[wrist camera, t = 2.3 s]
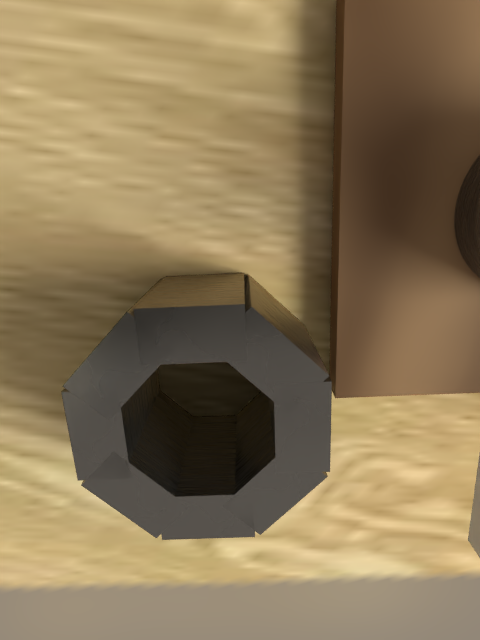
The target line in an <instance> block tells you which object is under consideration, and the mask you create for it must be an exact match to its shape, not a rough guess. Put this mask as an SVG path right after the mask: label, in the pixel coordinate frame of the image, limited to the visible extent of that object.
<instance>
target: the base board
mask: <svg viewBox="0 0 480 640" xmlns="http://www.w3.org/2000/svg"><path fill="white" fill-rule="evenodd" d="M479 155H480V0H337V4H336V57H335V110H334V163H333V216H332V269H331V321H330V374H329V377H330V379H331V381H332V392H333V394H334V396H335V398H348V397H374V396H401V395H427V394H453V393H479V392H480V278H479V277H478V276H477V275H476V274H475V273H473V272H472V270H471V269H470V268H469V267H468V265H467V264H466V262H465V261H464V259H463V257H462V255H461V253H460V250H459V248H458V245H457V241H456V237H455V228H454V214H455V207H456V201H457V198H458V194H459V191H460V188H461V186H462V183H463V181H464V179H465V177H466V175H467V173H468V171H469V169H470V168H471V166H472V165H473V163H474V162H475V161H476V159H477V158H478V156H479Z"/></svg>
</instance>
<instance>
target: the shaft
mask: <svg viewBox="0 0 480 640" xmlns="http://www.w3.org/2000/svg"><path fill="white" fill-rule="evenodd" d="M454 228H455V237H456V241H457V245H458V248H459V250H460V253H461V255H462V257H463V259H464V261H465V262H466V264H467V265H468V267H469V268H470V269H471V270H472V272H473V273H475V274H476V275H477V276H478V277H479V278H480V155H479V156H478V158H477V159H476V161H475V162H474V163H473V165H472V166H471V168H470V169H469V171H468V173H467V175H466V177H465V179H464V181H463V183H462V186H461V188H460V191H459V194H458V198H457V201H456V207H455V214H454Z"/></svg>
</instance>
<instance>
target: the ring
mask: <svg viewBox="0 0 480 640" xmlns="http://www.w3.org/2000/svg"><path fill="white" fill-rule="evenodd" d="M212 362H227V363H229V364H230V365H231V366H232V367H233V368H235V369H236V370H237V371H238V372H239V373H240V374H242V375H243V376H244V377H245V378H246V379H248V380H249V381H250V382H251V383H252V384H254V385H255V386H256V387H257V388H258V389H259V390H261V392H260V393H259V394H258V395H257V396H256V397H255V398H254V399H253V400H252V401H251V402H250V403H249V404H248V405H247V406H246V407H245V408H244V409H243V410H242V411H241V412H240V413H239V414H238V415H233V416H207V417H193V416H191V415H190V414H189V413H188V412H186V411H185V410H184V409H183V408H181V407H180V406H179V405H178V404H176V403H175V402H174V401H172V400H171V399H170V398H169V397H167V396H166V395H165V394H164V393H162V392H161V391H160V387H159V378H158V369H157V368H158V367H159V366H160V365H162V364H187V363H212ZM63 387H64V388H65V389H64V390H63V391H62V392H61V393H62V399H63V404H64V409H65V414H66V420H67V425H68V430H69V436H70V441H71V446H72V452H73V457H74V462H75V468H76V473H77V478H78V480H84V481H83V483H82V484H81V485H82V486H83V487H84V488H86V489H87V490H89V491H90V492H91V493H93V494H94V495H96V496H97V497H99V498H100V499H101V500H103V501H104V502H106V503H107V504H109V505H110V506H111V507H113V508H114V509H116V510H117V511H118V512H120V513H121V514H123V515H124V516H126V517H127V518H128V519H130V520H131V521H133V522H134V523H136V524H137V525H138V526H140V527H141V528H143V529H144V530H146V531H147V532H148V533H150V534H151V535H153V536H154V537H155V538H157V537H158V536H159V535H160V534H162V540H170V539H202V538H233V537H255V531H256V532H257V533H259V534H260V535H261V534H262V533H263V532H264V531H265V530H266V529H268V528H269V527H270V526H271V525H272V524H273V523H275V522H276V521H277V520H278V519H279V518H280V517H281V516H283V515H284V514H285V513H286V512H287V511H288V510H290V509H291V508H292V507H293V506H294V505H295V504H296V503H298V502H299V501H300V500H301V499H302V498H303V497H305V496H306V495H307V494H308V493H309V492H310V491H311V490H313V489H314V488H315V487H316V486H317V485H318V484H320V483H321V482H322V481H323V480H324V479H325V478H326V477H327V473H326V472H330V443H331V394H332V381H331V379H330V377H329V374H328V372H327V370H326V368H325V366H324V364H323V362H322V360H321V358H320V356H319V354H318V352H317V350H316V348H315V346H314V344H313V342H312V340H311V338H310V336H309V334H308V332H307V330H306V328H305V326H304V324H302V323H301V322H300V321H299V320H298V319H297V318H296V317H295V316H294V315H293V314H292V313H290V312H289V311H288V310H287V309H286V308H285V307H284V306H283V305H282V304H281V303H279V302H278V301H277V300H276V299H275V298H274V297H273V296H272V295H271V294H270V293H268V292H267V291H266V290H265V289H264V288H263V287H262V286H261V285H260V284H259V283H257V282H256V281H255V280H254V279H253V278H252V277H251V276H250V275H248V276H247V277H246V278H245V279H244V273H232V274H209V275H186V276H166V277H165V278H164V279H162V278H161V279H160V280H159V281H158V282H157V283H156V284H155V285H154V286H153V287H152V288H151V289H150V290H149V291H148V292H147V293H146V294H145V295H144V296H143V297H142V298H141V299H140V300H139V301H138V302H137V303H136V304H135V305H133V306H132V307H131V308H130V309H129V310H128V311H127V312H126V314H125V315H124V316H123V317H122V318H121V319H120V320H119V322H118V323H117V324H116V325H115V326H114V327H113V329H112V330H111V331H110V332H109V333H108V334H107V336H106V337H105V338H104V339H103V340H102V341H101V342H100V344H99V345H98V346H97V347H96V348H95V349H94V351H93V352H92V353H91V354H90V355H89V356H88V358H87V359H86V360H85V361H84V362H83V363H82V364H81V366H80V367H79V368H78V369H77V370H76V371H75V373H74V374H73V375H72V376H71V377H70V378H69V380H68V381H67V382H66V383H65V384H64V385H63Z"/></svg>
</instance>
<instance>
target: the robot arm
mask: <svg viewBox="0 0 480 640" xmlns="http://www.w3.org/2000/svg"><path fill="white" fill-rule="evenodd" d="M468 541H469V542H470V544H471V545H472V547H473V548H474V550H475V551H476V553H477V554H478V556H479V557H480V454H479V462H478V469H477V477H476V484H475V491H474V499H473V506H472V514H471V521H470V528H469V536H468Z"/></svg>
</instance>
